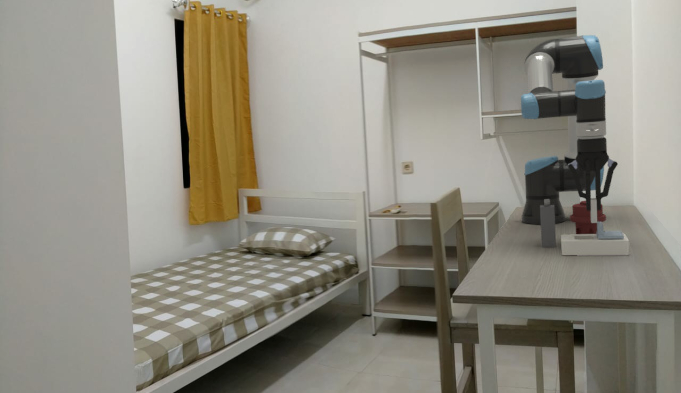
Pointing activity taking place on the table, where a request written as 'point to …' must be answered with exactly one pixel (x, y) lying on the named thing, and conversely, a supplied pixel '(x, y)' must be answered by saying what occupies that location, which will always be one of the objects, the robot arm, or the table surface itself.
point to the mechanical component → (585, 218)
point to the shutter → (607, 233)
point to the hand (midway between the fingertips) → (594, 221)
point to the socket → (593, 245)
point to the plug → (547, 224)
